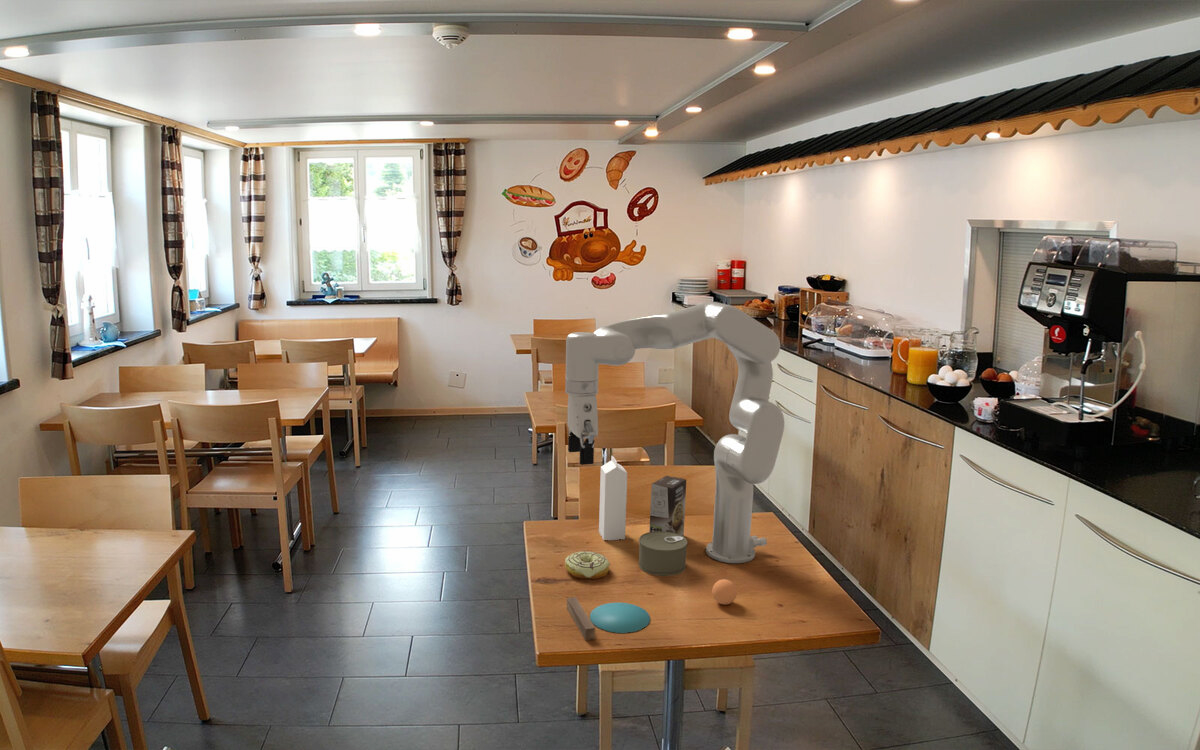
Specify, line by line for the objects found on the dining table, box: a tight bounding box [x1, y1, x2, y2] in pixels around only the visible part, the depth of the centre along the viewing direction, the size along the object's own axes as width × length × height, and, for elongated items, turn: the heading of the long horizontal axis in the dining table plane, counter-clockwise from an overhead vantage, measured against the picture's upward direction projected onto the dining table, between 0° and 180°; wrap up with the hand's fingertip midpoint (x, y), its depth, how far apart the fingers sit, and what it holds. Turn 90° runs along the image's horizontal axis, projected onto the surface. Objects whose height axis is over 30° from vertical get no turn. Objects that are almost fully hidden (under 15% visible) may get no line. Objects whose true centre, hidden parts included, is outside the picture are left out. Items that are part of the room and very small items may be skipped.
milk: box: [598, 455, 628, 541], centre depth 217 cm, size 6×6×22 cm
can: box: [638, 531, 688, 577], centre depth 201 cm, size 12×12×7 cm
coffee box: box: [648, 475, 687, 537], centre depth 217 cm, size 9×6×16 cm
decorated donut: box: [564, 551, 611, 580], centre depth 197 cm, size 10×11×4 cm
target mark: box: [589, 602, 651, 634], centre depth 175 cm, size 13×13×1 cm
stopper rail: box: [566, 596, 596, 641], centre depth 172 cm, size 2×14×2 cm, turn 18°
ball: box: [711, 578, 738, 605], centre depth 182 cm, size 6×6×6 cm
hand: (580, 457), depth 189 cm, fingers open, 9 cm apart
